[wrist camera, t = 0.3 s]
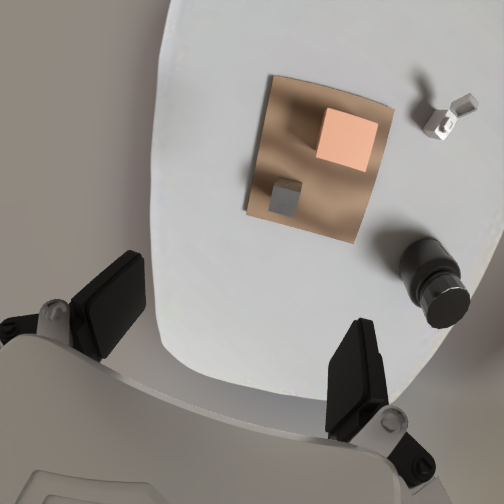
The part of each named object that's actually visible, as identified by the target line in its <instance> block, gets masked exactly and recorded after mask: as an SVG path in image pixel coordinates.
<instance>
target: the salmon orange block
mask: <svg viewBox="0 0 504 504" xmlns="http://www.w3.org/2000/svg"><path fill="white" fill-rule="evenodd" d="M377 128H378V124H377V123H375V122H372V121H369V120H366V119H363V118H360V117H357V116H354V115H351V114H348V113H344V112H341V111H338V110H334V109H331V108H327V109H326V110H325V112H324V116H323V120H322V125H321V129H320V133H319V137H318V141H317V146H316V150H315V154H316V157H317V158H320V159H324V160H327V161H331V162H334V163H338V164H341V165H344V166H348V167H351V168H354V169H357V170H360V171H363V172H366V168H367V165H368V162H369V158H370V154H371V151H372V147H373V143H374V140H375V136H376V132H377Z"/></svg>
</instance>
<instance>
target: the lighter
mask: <svg viewBox="0 0 504 504" xmlns="http://www.w3.org/2000/svg"><path fill="white" fill-rule="evenodd" d="M478 104H479V102H478V101H477V100H476V99H475V98H474V96H473V95H472V94H470V93H469V94H467V95H465V96H463V97H461V98H459V99H457V100H456V101H454V102H452V103H451V106H450V110H435V111H434V113H433V114H432V116H431V117H430V119H429V120H428V122H427V123H426V125H425V126H424V128H423V131H424V132H425V133H426V134H427V135H428V136H429V137H430V138H435V139H439V140H444V139H445V138H446V136H447V135H448V133H450V131H451V130H452V128H453V127H454V125H455V124H456V123H455V122H456V121H457V118H460V117H463V116H465V115H467V114H470V113H472V112H474V111H477V109H478Z"/></svg>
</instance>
